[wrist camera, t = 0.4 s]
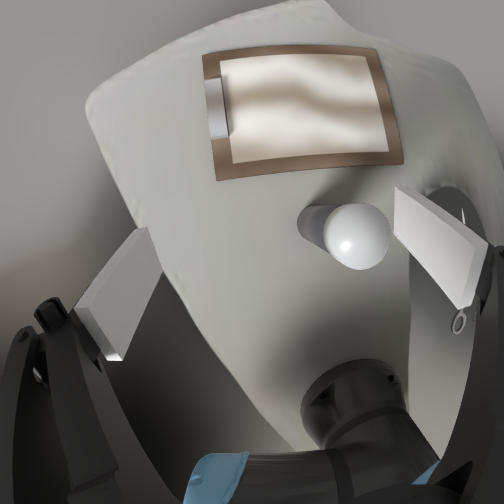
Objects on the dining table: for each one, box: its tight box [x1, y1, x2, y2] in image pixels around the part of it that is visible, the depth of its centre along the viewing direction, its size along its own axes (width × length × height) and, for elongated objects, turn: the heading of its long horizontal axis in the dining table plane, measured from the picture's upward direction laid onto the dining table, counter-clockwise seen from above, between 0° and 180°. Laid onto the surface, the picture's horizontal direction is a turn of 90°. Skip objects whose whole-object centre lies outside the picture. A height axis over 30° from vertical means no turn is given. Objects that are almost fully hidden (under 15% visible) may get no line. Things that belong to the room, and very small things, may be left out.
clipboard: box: [202, 45, 404, 181], centre depth 27 cm, size 16×22×2 cm
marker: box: [297, 203, 391, 270], centre depth 23 cm, size 4×4×14 cm
